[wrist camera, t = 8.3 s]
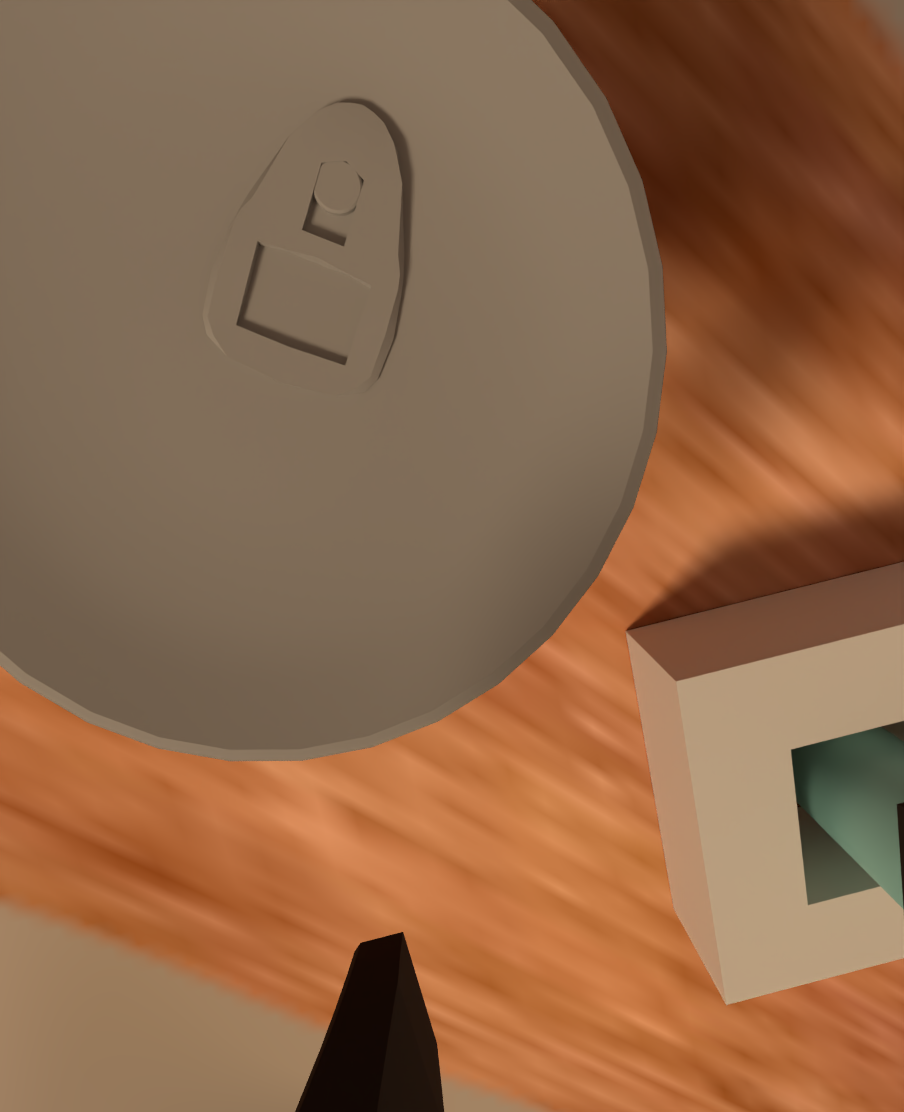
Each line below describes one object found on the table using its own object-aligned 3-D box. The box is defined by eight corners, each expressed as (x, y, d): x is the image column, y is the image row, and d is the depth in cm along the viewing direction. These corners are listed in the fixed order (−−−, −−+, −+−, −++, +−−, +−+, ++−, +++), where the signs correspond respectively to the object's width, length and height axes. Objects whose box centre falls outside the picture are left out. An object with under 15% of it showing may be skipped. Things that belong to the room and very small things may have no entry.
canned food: (513, 250, 16) (739, -83, 5) (487, 561, 18) (619, 782, 7) (198, 219, 15) (-267, -238, 5) (201, 545, 17) (-138, 764, 6)
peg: (849, 678, 20) (1142, 857, 12) (857, 768, 20) (1137, 991, 13) (749, 705, 20) (978, 902, 12) (761, 794, 20) (984, 1034, 13)
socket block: (951, 549, 19) (1072, 581, 16) (961, 833, 21) (1068, 913, 18) (625, 631, 19) (675, 681, 15) (673, 908, 21) (726, 1004, 18)
